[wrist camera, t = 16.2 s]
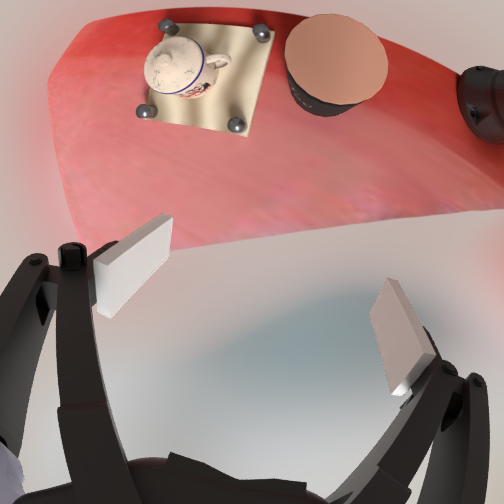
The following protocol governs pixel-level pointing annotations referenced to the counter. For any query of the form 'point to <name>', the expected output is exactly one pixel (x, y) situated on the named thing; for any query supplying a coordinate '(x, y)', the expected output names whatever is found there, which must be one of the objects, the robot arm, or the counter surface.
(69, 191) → the counter surface
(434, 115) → the counter surface
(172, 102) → the birch board
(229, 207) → the counter surface
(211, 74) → the teacup with lid
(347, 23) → the coffee jar
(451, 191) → the counter surface
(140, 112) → the set of grey pegs
